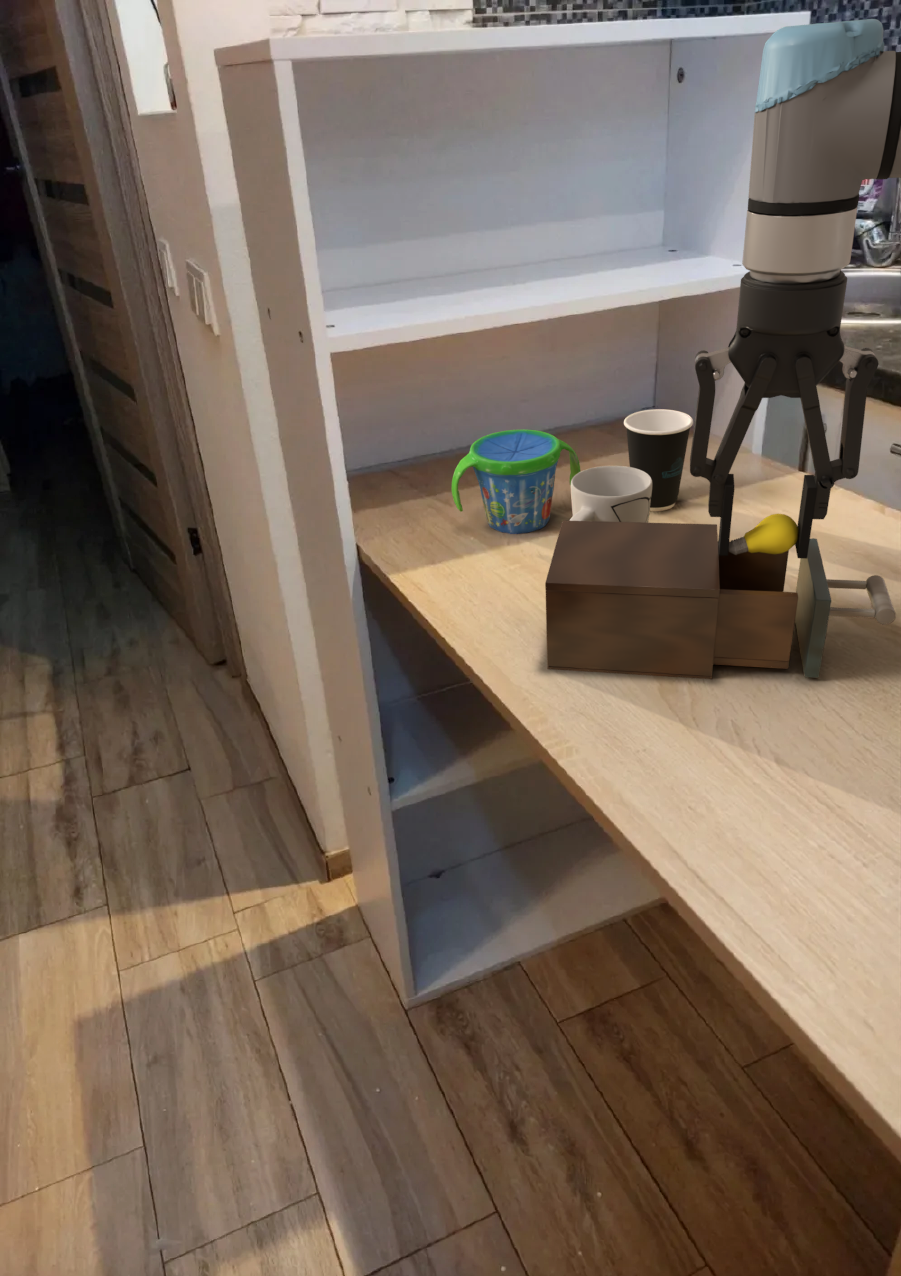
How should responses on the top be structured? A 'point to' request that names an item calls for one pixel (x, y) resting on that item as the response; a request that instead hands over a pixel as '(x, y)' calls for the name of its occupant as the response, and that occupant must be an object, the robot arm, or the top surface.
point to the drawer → (783, 609)
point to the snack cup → (515, 477)
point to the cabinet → (633, 598)
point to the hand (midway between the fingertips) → (761, 549)
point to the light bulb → (768, 536)
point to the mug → (611, 494)
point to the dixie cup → (659, 451)
